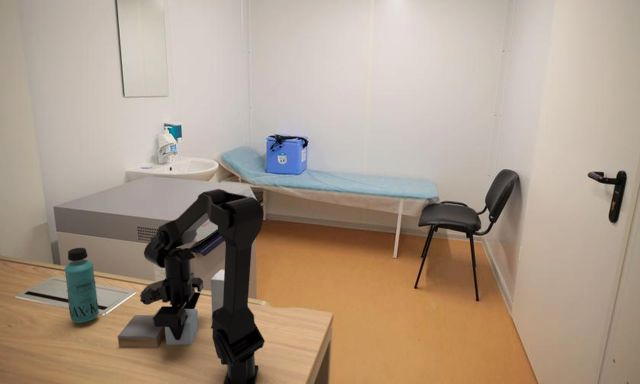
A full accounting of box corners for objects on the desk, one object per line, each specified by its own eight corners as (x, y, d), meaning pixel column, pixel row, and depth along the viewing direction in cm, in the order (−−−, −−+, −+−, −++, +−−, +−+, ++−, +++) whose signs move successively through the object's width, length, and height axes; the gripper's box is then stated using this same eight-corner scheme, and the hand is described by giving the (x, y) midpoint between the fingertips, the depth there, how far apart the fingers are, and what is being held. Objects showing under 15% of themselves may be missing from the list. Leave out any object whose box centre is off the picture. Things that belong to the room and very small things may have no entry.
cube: (191, 344, 95) (189, 322, 94) (166, 344, 95) (164, 322, 93) (198, 330, 101) (197, 309, 99) (174, 329, 101) (173, 308, 99)
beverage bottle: (65, 323, 102) (54, 251, 97) (90, 311, 108) (81, 242, 103) (81, 331, 99) (70, 257, 94) (106, 318, 105) (97, 247, 100)
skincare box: (227, 322, 104) (225, 280, 101) (211, 320, 105) (209, 278, 102) (236, 310, 110) (235, 270, 107) (221, 308, 111) (220, 268, 108)
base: (157, 347, 93) (156, 336, 93) (119, 347, 93) (117, 336, 93) (171, 325, 102) (170, 315, 101) (135, 325, 102) (134, 314, 101)
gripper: (159, 256, 102) (163, 310, 106) (125, 292, 84) (132, 355, 88) (202, 257, 103) (205, 311, 107) (178, 293, 85) (182, 356, 88)
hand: (182, 331), depth 97 cm, fingers open, 6 cm apart
